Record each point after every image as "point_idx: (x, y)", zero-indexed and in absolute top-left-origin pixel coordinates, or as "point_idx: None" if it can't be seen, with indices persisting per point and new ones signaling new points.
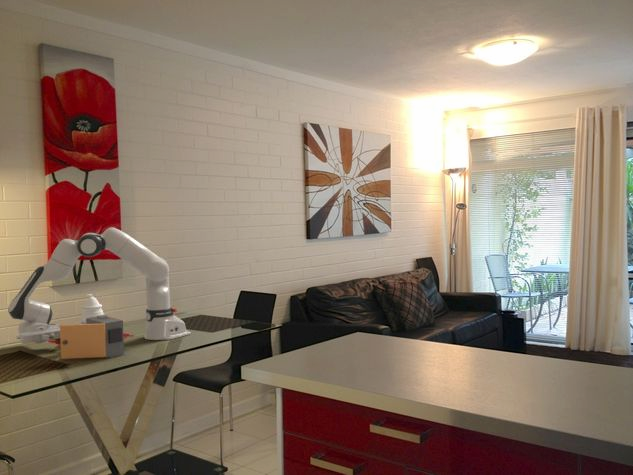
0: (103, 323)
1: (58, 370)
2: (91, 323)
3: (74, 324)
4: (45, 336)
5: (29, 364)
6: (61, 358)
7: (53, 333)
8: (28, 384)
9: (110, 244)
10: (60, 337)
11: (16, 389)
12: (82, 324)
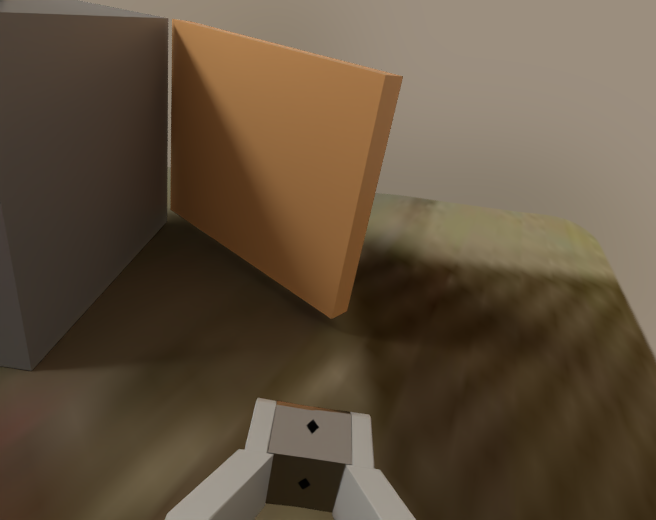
0: (180, 20)
1: (417, 248)
2: (62, 59)
3: (302, 53)
4: (382, 493)
5: (536, 410)
6: (346, 308)
7: (185, 502)
8: (533, 230)
9: None
10: (378, 174)
11: (565, 227)
12: (269, 43)
